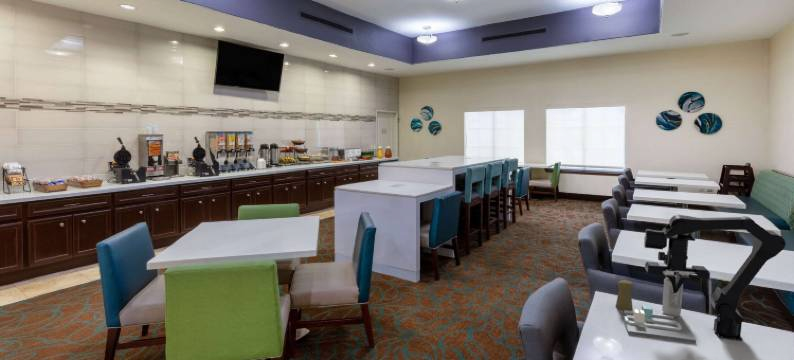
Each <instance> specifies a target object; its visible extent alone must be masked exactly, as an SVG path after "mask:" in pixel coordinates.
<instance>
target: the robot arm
mask: <svg viewBox="0 0 794 360" xmlns="http://www.w3.org/2000/svg"><path fill="white" fill-rule="evenodd" d="M738 230H739V231H741V230H742V231H746V232H748V233H749V234H750V235H752V236H753V237H755V239H754V241H753V245H752V249H751V252H750V253H749V256H747V258H746V259H745V261H744V262H743V263H742V265H741V266H740V267H739V269H738V270H737V271H736V273H735V274H734V276H733V277H732V278H731V280H730V281H729V282H728V284H727V285H725V286H724V287H722V288H720V287H719V286H716V287H715V290H714V292H712V293H711V294H710V297H711V299H710V303H711V305H712V307H713V309H714V311H715V312H716V316H715V317H716V318H714V323H713V331H714V332H715V333H716V335H717V336H718V337H719V338H722V339H730V340H739V341H743V337H742V336H741V332H742V326H743V325H742V324H743V321H744V318H743V316H742V315H741V313H740V312H739V310H738V308H739V305H740V300H741V296H742V295H743V293H744V292H745V290H746V289H747V288H748V286H749V285H750V284H751V282H752V281H753V280H754V278H756V276H757V275H758V273H759V272H760V270H761V269H762V268H763V267H764V265H766V263H767V261H769V260H771V259H773V258H774V257H776V256H778V255H779V254H780V253H781V252H782V251H783V250H784V249H785V247H786V246H787V243H786V240H785V238H783V237H782V236H781V235H780V234H778V233H777V232H775V231H773V230H767V229H765V228H764V227H762V226H761V225H759V224H758V223H756V221H754V219H753V218H751V217H749V216H734V217H733V216H729V217H726V216H725V217H724V216H723V217H697V216H691V215H683V214H675V215H672V217H670V219H669V222H668V224H667V225H666V226H665V227H663V228H662V230H654V229H651V228H648V229H647V228H646V229H645V235H644V237H643V238H644V242H643V245H644V246H643V247H644V249H653V250H663V249H665V248H667V246H668V248H667V252H665V251H658V253H657V259H658V261H661V262H662V261H663V264H665V265H660V264H659V263H658V262H654V261H646V262H645V263H644V269H645V271H646V273H648V274H650V275H660V274H661V273H662V274H663V275H664V276H665V278H666V277H668V279H669V281H670V284H671V287H672V291H673V293H677V291H678V290H679V288H680V287H681V286H682V284H683V285H684V283H685V282H686V281H687V280H691V277H690V276H689V275H696V276H697V277H698V278H699V279H704V280H706V279H707V280H709V279H710V277H711V272H710V270H708V269H707V268H706V267H705V266H704V265H703V266H702V265H695V264H693V265H692V266H691V267H687V262H688V261H687V260H688V259H689V256H688V251H689V250H688V249H689V248H688V247H689V241H692V242H695V241H696V238H695V237H694V236H693V235H692V233H693V234H694V233H696V232H701V231H738ZM675 275H676V277H675Z"/></svg>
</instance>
